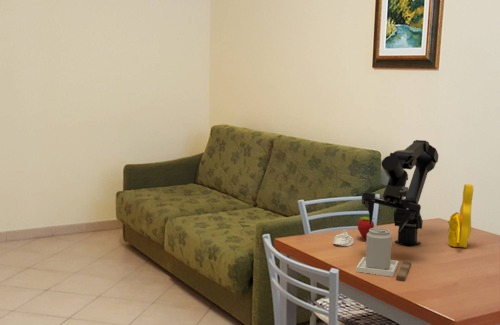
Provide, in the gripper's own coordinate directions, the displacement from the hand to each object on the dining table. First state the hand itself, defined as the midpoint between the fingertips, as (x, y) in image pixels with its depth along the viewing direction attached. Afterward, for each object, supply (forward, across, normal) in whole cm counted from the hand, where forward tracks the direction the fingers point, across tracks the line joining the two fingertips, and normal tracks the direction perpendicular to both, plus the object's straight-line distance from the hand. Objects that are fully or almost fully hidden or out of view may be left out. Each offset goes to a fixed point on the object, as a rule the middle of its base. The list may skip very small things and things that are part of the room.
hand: (384, 228), depth 186 cm
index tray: (+14, +1, -2) cm, 14 cm away
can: (+14, +1, -2) cm, 14 cm away
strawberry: (-3, -7, +26) cm, 27 cm away
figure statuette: (-10, +24, +25) cm, 36 cm away
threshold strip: (+13, +9, -3) cm, 16 cm away
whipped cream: (+3, -14, +19) cm, 24 cm away
